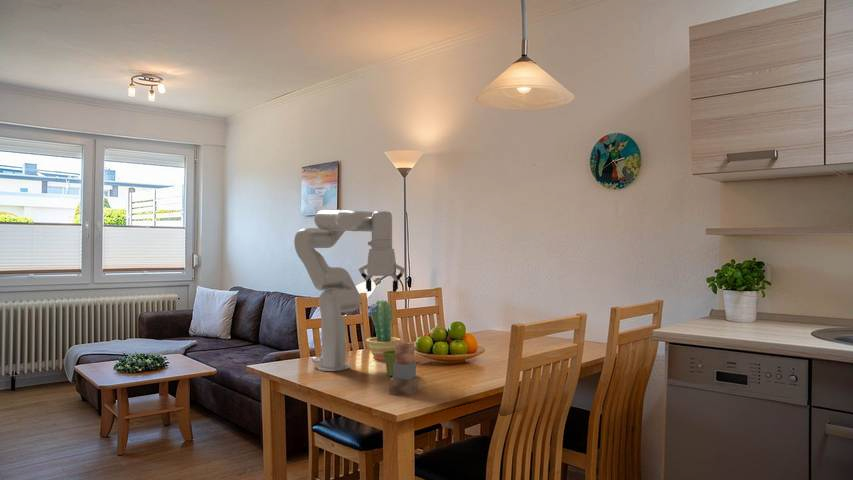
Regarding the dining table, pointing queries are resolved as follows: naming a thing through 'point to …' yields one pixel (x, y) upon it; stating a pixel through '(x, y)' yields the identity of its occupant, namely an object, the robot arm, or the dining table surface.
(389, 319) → the potted cactus
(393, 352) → the plant pot
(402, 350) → the brownish pink block
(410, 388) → the walnut base block
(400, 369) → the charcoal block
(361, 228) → the robot arm
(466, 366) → the dining table surface
